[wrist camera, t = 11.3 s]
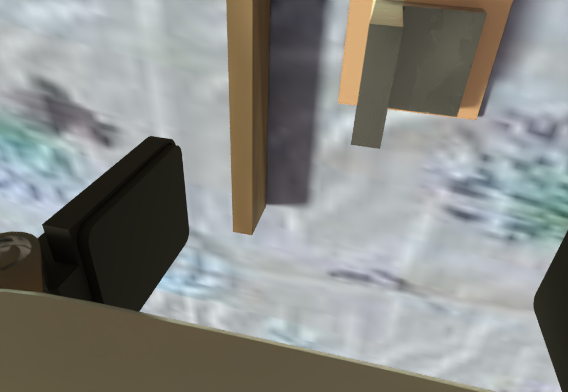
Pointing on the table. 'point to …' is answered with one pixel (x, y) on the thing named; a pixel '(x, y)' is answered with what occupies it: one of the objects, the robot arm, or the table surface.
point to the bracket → (414, 62)
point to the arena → (248, 108)
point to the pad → (362, 3)
